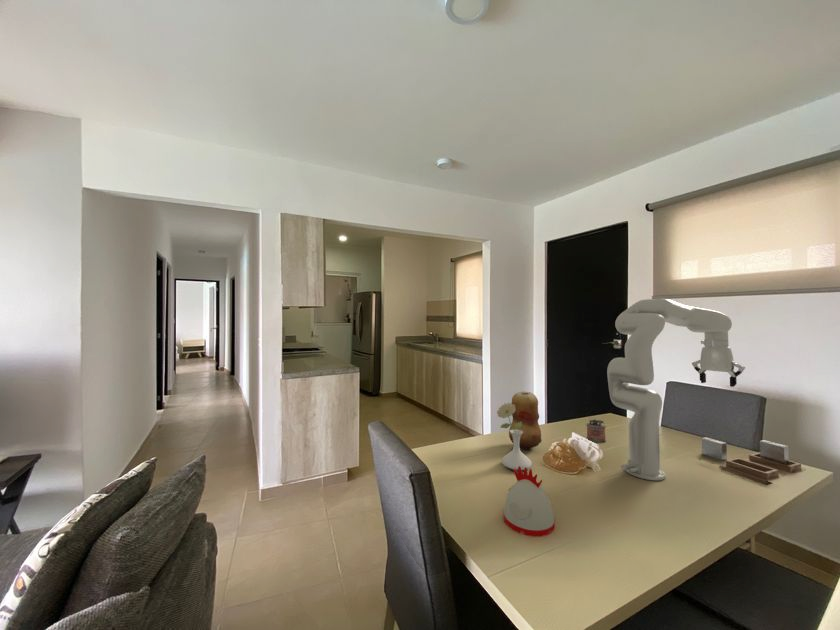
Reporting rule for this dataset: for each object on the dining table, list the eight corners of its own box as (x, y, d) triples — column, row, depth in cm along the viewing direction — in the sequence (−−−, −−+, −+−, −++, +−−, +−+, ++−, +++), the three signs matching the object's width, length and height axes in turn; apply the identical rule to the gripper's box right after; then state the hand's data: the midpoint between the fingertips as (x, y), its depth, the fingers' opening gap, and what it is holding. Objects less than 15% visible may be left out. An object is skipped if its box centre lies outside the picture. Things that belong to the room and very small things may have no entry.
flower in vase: (528, 461, 135) (527, 399, 136) (535, 474, 124) (534, 406, 124) (495, 460, 137) (495, 399, 137) (499, 472, 125) (499, 406, 126)
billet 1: (722, 464, 132) (721, 443, 132) (702, 457, 138) (701, 438, 139) (726, 463, 133) (726, 442, 133) (706, 456, 140) (706, 437, 140)
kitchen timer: (515, 502, 105) (515, 454, 105) (561, 518, 96) (560, 466, 96) (495, 523, 94) (494, 469, 94) (544, 543, 85) (543, 484, 85)
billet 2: (784, 468, 124) (784, 447, 124) (760, 461, 131) (759, 440, 131) (789, 467, 125) (788, 446, 125) (764, 460, 132) (764, 440, 132)
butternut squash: (508, 452, 145) (508, 394, 145) (509, 441, 157) (509, 388, 158) (542, 455, 141) (541, 396, 141) (540, 444, 153) (540, 390, 154)
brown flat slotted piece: (766, 485, 115) (766, 475, 115) (721, 469, 127) (721, 460, 127) (806, 473, 124) (805, 463, 124) (760, 459, 136) (760, 451, 136)
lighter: (586, 440, 159) (586, 419, 159) (586, 438, 162) (586, 417, 162) (605, 443, 155) (605, 421, 155) (605, 440, 158) (605, 419, 158)
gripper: (687, 343, 146) (688, 382, 146) (740, 345, 131) (741, 389, 131) (695, 342, 150) (696, 380, 150) (747, 344, 135) (748, 386, 135)
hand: (717, 384), depth 140 cm, fingers open, 9 cm apart
